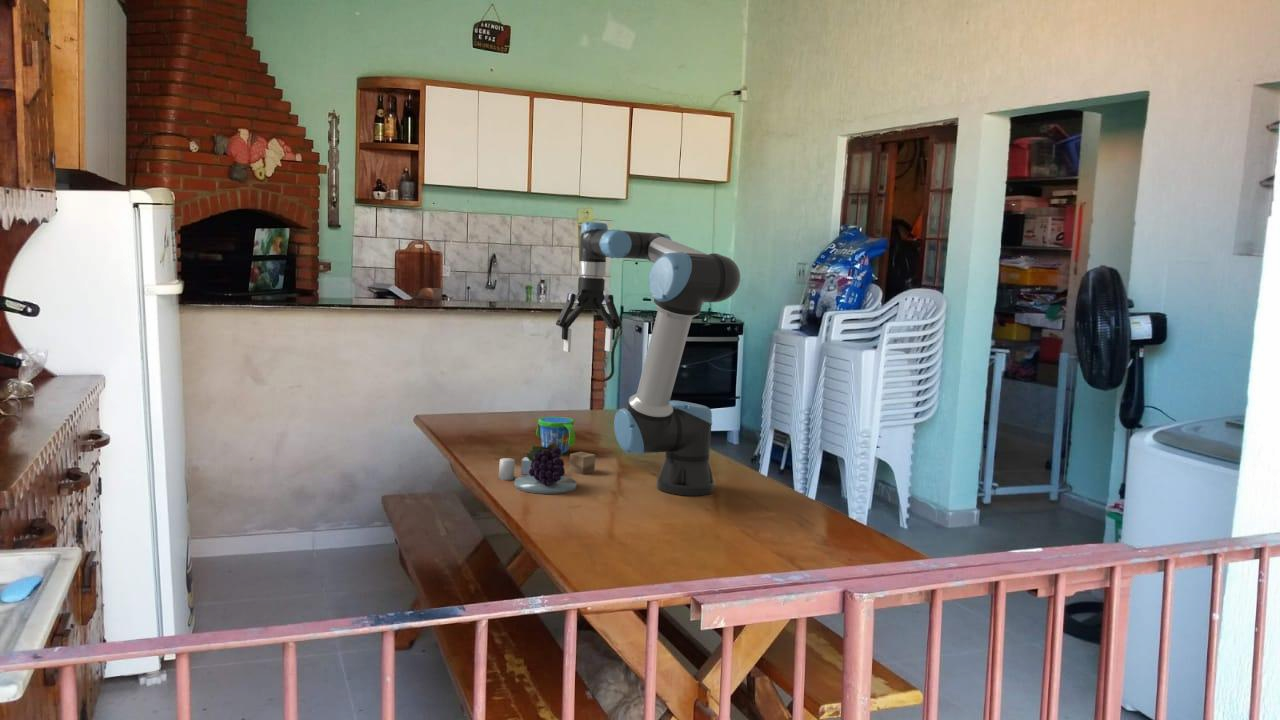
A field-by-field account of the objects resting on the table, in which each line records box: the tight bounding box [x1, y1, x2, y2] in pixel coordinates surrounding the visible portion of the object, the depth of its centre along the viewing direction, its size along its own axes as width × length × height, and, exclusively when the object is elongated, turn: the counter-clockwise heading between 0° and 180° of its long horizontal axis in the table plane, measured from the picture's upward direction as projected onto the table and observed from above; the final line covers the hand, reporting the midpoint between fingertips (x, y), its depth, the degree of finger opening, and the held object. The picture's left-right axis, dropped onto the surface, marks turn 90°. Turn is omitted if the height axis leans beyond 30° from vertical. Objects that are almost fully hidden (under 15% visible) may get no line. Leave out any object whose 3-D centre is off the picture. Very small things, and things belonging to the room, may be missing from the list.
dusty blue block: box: [520, 456, 532, 475], centre depth 256 cm, size 4×8×4 cm, turn 85°
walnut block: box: [568, 451, 596, 476], centre depth 262 cm, size 5×5×5 cm
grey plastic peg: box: [498, 457, 516, 481], centre depth 249 cm, size 4×4×5 cm
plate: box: [514, 474, 577, 495], centre depth 243 cm, size 16×16×1 cm
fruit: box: [525, 444, 566, 486], centre depth 243 cm, size 10×11×15 cm
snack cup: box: [535, 416, 576, 454], centre depth 283 cm, size 16×10×10 cm
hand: (587, 351), depth 268 cm, fingers open, 13 cm apart
